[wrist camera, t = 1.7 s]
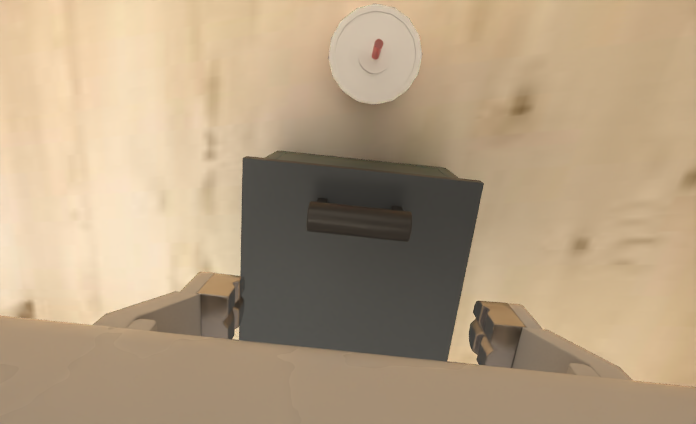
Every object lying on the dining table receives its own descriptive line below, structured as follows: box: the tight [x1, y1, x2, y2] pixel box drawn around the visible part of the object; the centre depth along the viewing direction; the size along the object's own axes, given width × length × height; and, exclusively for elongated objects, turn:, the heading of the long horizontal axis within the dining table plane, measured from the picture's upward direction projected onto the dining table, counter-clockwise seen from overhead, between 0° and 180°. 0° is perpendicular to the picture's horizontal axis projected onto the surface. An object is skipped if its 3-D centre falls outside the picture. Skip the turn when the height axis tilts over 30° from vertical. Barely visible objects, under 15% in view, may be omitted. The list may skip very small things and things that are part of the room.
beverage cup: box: [328, 4, 422, 105], centre depth 26 cm, size 6×6×14 cm
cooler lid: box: [239, 156, 484, 361], centre depth 25 cm, size 17×16×5 cm
